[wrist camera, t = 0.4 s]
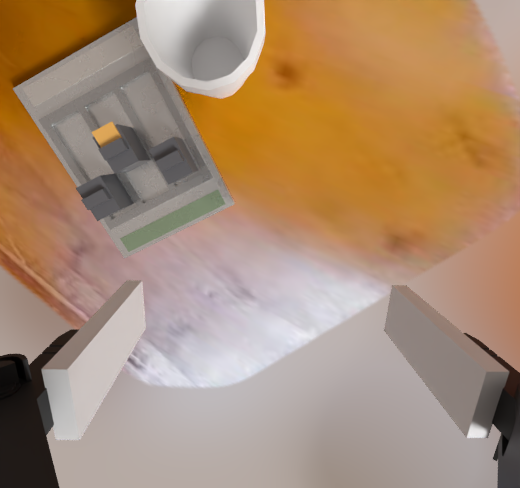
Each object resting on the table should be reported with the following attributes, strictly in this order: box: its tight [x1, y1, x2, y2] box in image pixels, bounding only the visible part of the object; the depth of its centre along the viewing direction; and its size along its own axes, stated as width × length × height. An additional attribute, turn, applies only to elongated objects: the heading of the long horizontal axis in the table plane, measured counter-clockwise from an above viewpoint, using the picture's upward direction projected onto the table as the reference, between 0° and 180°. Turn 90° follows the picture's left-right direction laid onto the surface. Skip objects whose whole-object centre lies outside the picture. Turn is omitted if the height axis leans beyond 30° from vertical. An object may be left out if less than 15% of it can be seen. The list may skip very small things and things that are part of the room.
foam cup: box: [135, 0, 265, 98], centre depth 28 cm, size 10×9×13 cm
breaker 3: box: [149, 137, 199, 185], centre depth 33 cm, size 4×3×5 cm
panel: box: [13, 17, 235, 258], centre depth 36 cm, size 22×16×2 cm
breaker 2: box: [76, 173, 134, 221], centre depth 34 cm, size 4×3×5 cm
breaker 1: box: [92, 122, 150, 174], centre depth 33 cm, size 4×3×5 cm
